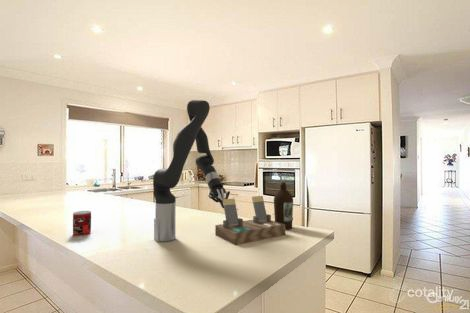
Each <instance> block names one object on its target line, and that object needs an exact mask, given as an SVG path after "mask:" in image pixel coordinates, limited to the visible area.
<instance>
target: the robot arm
mask: <svg viewBox="0 0 470 313" xmlns="http://www.w3.org/2000/svg"><path fill="white" fill-rule="evenodd" d="M186 112H187V116H188V119H189V123H187V124H185V125H184V127H182V128H181V129H180V130H179V131H178V133H176V134H177V135H176V136H175V139H174V141H173V143H172V152H173V153H172V155H173V156H172V160H171V162H170V164H169V166H168V168H159V169H157V170H156V171H155V173H154V174H153V178H152V179H153V180H152V182H153V183H152V187H153V197H154V199H155V209H154V210H155V215H154V216H155V218H153V239H154V241H155V242H157V243H159V242H160V243H161V242H162V243H163V242H164V243H165V242H170V241H174V240H176V234H177V233H176V222H177V220H176V219H177V218H176V209H177V208H176V202H177V200H176V196H175V195H174V194H173V193H172V191H171V189H174V188H175V187H176V186H177V185H178V184H179V182H180V179H181V176H182V173H183V169H184V167H185V164H186V161H187V159H188V156H189V155H190V153H191V150H192V148H193V146H194V143H195V144H196V151H197V152H198V153H199V154H202V155H199V156H197V157H196V158H195V164H196V166H197V168H198V169H199V170H200V171H201V172H202V173H203V175H204V178H205V181H206V183H207V184H206V185H207V186H208V188H209V191H210V192H209V194H208V195H207V196H208V198H209V199H211V200H212V201H214V202H215V203H219V204H220V207H221V208H222V209H223V210H224V206H223V200H224V199H229V196H230V194H231V191H229V190H228V191H227V190H226V189H225V187H224V185H223V182H222V180H221V177H220V175H219V174H218V172H217V170H216V169H215V166H213V165H214V163H215V162H214V161H215V160H214V157H213V155H212V152H211V149H210V144H209V137H208V135H207V133H206V131H205V130H204V128H203V127H202V126H203V125H204V123H205V122H206V119H207V117H208V116H209V113H210V104H209V102H208V101H206V100H202V99H201V100H200V99H192V100H189V101H188V103H187V105H186Z"/></svg>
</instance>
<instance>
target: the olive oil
mask: <svg viewBox="0 0 470 313" xmlns="http://www.w3.org/2000/svg"><path fill="white" fill-rule="evenodd" d="M273 210H274V213H273V214H274V221H275V222H278V223H281V224H285V231H286V230H291V229H292V228H293V220H294V217H293V214H294V211H293V210H294V197H293V195H292V194H291V193H290V191H288V189H287V181H285V182H284V181H281V182H280V186H279V190H278V191H277V192H276V193H275V194H274V197H273Z"/></svg>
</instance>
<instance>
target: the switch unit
mask: <svg viewBox="0 0 470 313" xmlns="http://www.w3.org/2000/svg"><path fill="white" fill-rule="evenodd" d="M266 214H267V213H266ZM238 220H239V225H237V226H230V227H229V221H227V220H226V219H225V220H223V221H222V223H219V224H215V226H214V227H215V229H214V230H215V236H216V237H218V238H220V239H222V240H224V241H226V242H228V243H231V244H232V245H234V246H236V245H240V244H245V243H247V244H248V243H251V242H255V241H260V240H265V239H271V238H275V237H280V236H281V237H282V236H285V235H286V230H285V224H281V223H278V222H275V220H272V214H267V221H262V222H259V217H257V216H256V215H254V216H253V217H252V219H248V220H247V219H246V220H243V218H241V217H238Z"/></svg>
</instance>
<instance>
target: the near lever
mask: <svg viewBox="0 0 470 313" xmlns="http://www.w3.org/2000/svg"><path fill="white" fill-rule="evenodd" d="M236 204H237V203H236V199H235V197H234V198H228V199H224V200H223V206H224V209H223V211H224V215H225V220H227V221H229V227H230V226H237V225H239V220H238V218H239V217H238V211H237V205H236Z"/></svg>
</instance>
